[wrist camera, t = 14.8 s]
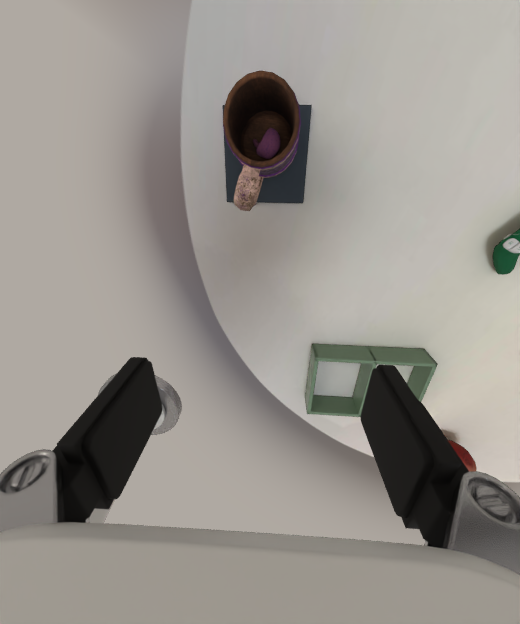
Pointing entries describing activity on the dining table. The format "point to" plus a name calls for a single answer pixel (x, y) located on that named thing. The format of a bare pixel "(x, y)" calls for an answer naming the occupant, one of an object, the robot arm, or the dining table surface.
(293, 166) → the mat
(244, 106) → the mug
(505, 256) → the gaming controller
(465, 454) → the fruit
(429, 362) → the divided box
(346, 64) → the dining table surface
